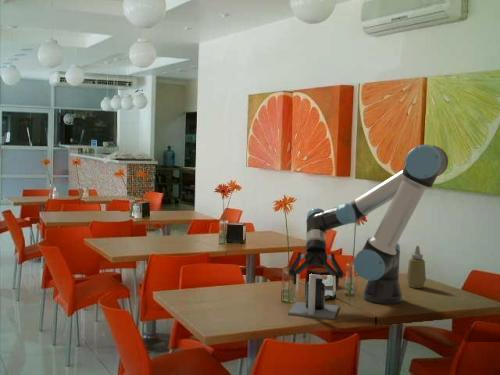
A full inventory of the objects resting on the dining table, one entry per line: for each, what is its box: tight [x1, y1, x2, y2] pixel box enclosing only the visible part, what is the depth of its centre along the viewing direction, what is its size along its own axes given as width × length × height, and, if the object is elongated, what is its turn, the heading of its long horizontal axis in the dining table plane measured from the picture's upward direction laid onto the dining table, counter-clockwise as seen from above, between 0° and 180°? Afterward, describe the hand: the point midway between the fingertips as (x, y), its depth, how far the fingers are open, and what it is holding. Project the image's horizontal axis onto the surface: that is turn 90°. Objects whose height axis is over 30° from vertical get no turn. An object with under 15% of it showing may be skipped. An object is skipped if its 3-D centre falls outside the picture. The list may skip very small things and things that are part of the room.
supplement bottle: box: [305, 274, 326, 310], centre depth 217 cm, size 7×7×12 cm
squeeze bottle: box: [406, 245, 427, 289], centre depth 261 cm, size 8×8×18 cm
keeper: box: [287, 273, 340, 320], centre depth 216 cm, size 16×16×15 cm
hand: (315, 292), depth 215 cm, fingers open, 13 cm apart
